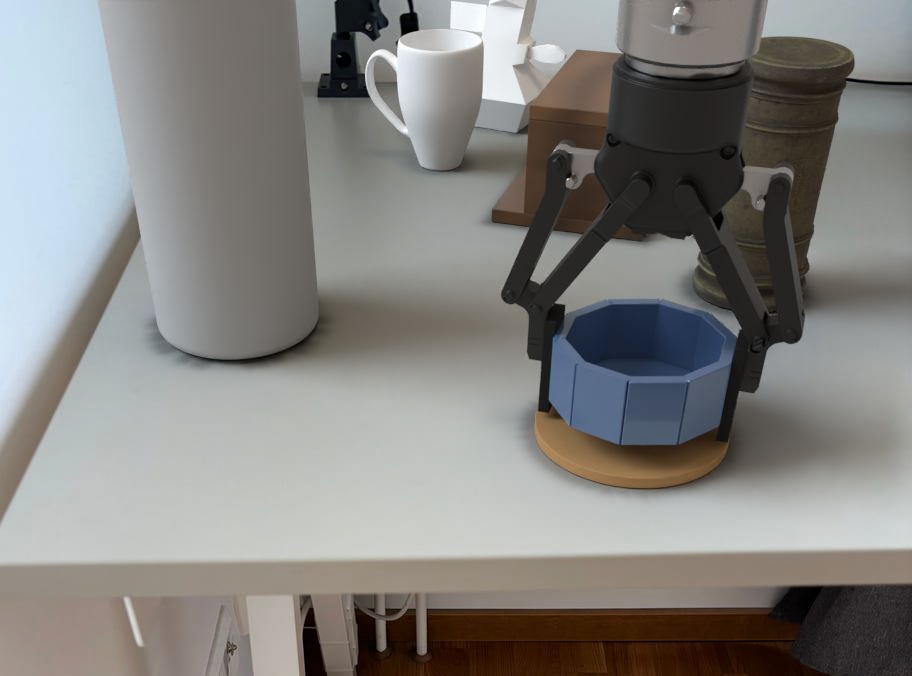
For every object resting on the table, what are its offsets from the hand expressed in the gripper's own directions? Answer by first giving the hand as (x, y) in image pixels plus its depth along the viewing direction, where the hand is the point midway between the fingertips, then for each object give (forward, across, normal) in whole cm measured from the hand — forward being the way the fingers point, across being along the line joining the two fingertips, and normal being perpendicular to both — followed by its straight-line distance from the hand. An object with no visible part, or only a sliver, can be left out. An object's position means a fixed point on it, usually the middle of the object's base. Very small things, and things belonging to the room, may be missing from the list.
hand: (634, 416), depth 73 cm
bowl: (-1, 0, 0) cm, 1 cm away
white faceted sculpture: (+1, -26, +60) cm, 65 cm away
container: (+2, +5, +25) cm, 25 cm away
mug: (+1, -30, +45) cm, 54 cm away
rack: (+1, -12, +41) cm, 43 cm away
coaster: (+1, 0, 0) cm, 1 cm away
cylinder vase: (+1, -32, +6) cm, 33 cm away
